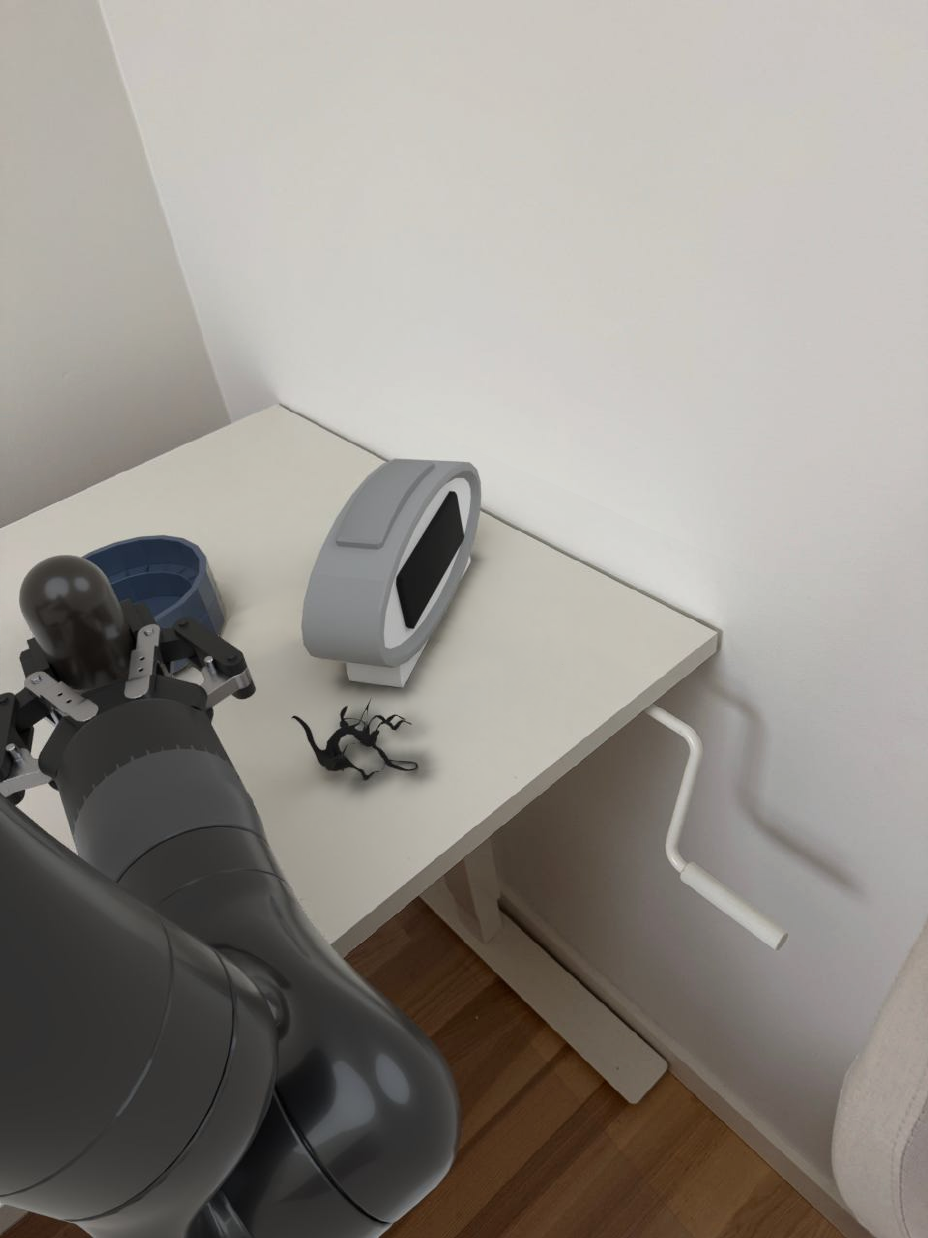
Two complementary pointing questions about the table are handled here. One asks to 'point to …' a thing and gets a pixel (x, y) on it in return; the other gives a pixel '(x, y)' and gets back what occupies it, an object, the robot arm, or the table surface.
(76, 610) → the two-tone capsule
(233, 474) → the table surface
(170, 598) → the bowl
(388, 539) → the alarm clock
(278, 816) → the table surface
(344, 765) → the creature
